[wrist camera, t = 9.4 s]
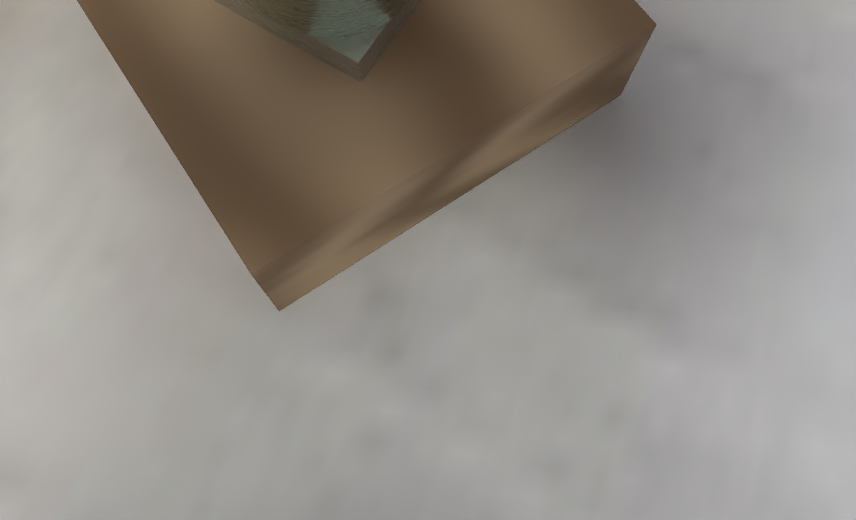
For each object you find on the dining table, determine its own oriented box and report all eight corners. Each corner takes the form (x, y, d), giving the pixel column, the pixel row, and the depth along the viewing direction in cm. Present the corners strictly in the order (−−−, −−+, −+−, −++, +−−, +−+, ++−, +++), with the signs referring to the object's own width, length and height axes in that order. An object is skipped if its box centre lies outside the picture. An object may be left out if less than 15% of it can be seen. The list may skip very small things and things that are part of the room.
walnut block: (278, 310, 23) (251, 274, 19) (82, 3, 26) (25, -80, 22) (620, 94, 25) (656, 24, 22) (400, -160, 29) (398, -259, 25)
